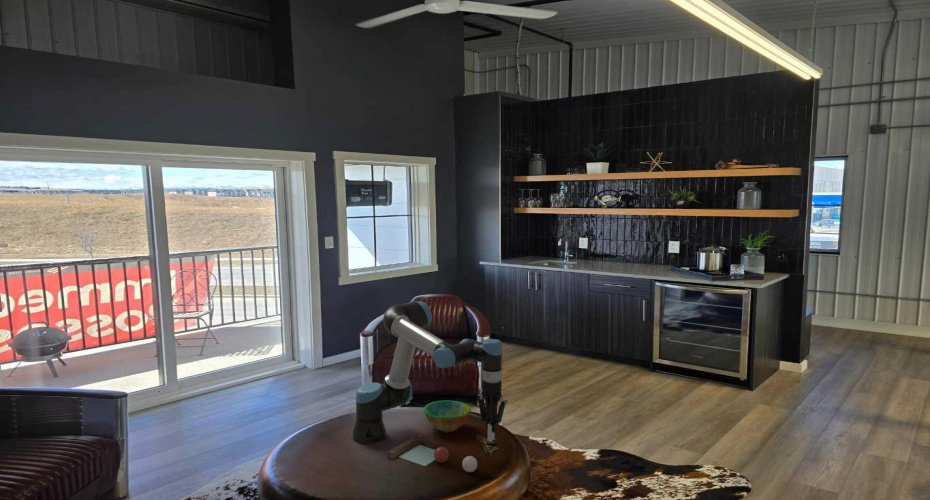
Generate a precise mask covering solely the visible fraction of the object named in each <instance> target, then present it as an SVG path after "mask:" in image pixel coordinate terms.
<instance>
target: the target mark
mask: <svg viewBox="0 0 930 500" xmlns="http://www.w3.org/2000/svg"><path fill="white" fill-rule="evenodd" d="M435 450H436V449H434V448H430V447H427V446H425V445H421V444H418V445H416V446H414V447H413V448H411V449H409V450H407V451H406V452H404V453H402V454H400V455H399V456H398V458H400V459H402V460H406V461H409V462H412V463H414V464H416V465H419V466H423V467H427V466H429V464H431V463H433V462H434V461H436V460H435V458H434V452H435Z"/></svg>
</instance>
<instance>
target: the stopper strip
mask: <svg viewBox="0 0 930 500" xmlns="http://www.w3.org/2000/svg"><path fill="white" fill-rule="evenodd" d="M422 439H423V436H421V435H416V436H414V437H412V438H410V439H408V440H406V441H404V442H403V443H401V444H399V445H398V446H395V447H394V448H392V449H390V450H388V451H387V452H386V453H387V459H390V460H393V459H396V458H397V457H399V456H401V455H403V454H404V453H406V452H408V451H409V450H411V449H413V448H415V447H416V446H418V445H420V444H421V443H423V440H422ZM419 443H420V444H419Z"/></svg>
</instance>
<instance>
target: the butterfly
mask: <svg viewBox="0 0 930 500" xmlns="http://www.w3.org/2000/svg"><path fill="white" fill-rule="evenodd" d="M475 434H476V433H475ZM475 436H476V437H477V440H478V441H479V443H480V444H481V445H480V447H481V448H483V450H484V452H485V454H488V456H489V457H492V456H493V453H495V452H497V451H499V450H502V451H503V450H504V449H500V448H499V447H497V446H495V445H493V444H496V441H497V438H494V440H492V441H488V438H485V437H484V436H482V435H481V434H478V433H477V434H476V435H475ZM479 438H480V439H479ZM489 444H490V445H489Z"/></svg>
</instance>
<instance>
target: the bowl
mask: <svg viewBox="0 0 930 500" xmlns="http://www.w3.org/2000/svg"><path fill="white" fill-rule="evenodd" d="M422 411H423V413H424V415H425V416H426V418H427V420H428V422H429V424H430V425H431V426H432V427H433V428H434V429H436V430H438V431H440V432H442V431H443V432H442V433H452V432H454V431H456V430H458V429H459V428H461V427H462V426H464V424H465V423H466V421H467V420H468V417H469V416H470V413H471V411H472V408H471V406H470V405H469V404H467V403H464V402H462V401H459V400H450V399H449V400H448V399H447V400H445V399H444V400H436V401H433V402H430V403H428V404H426V405H425V406H424V407H423V409H422Z"/></svg>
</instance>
